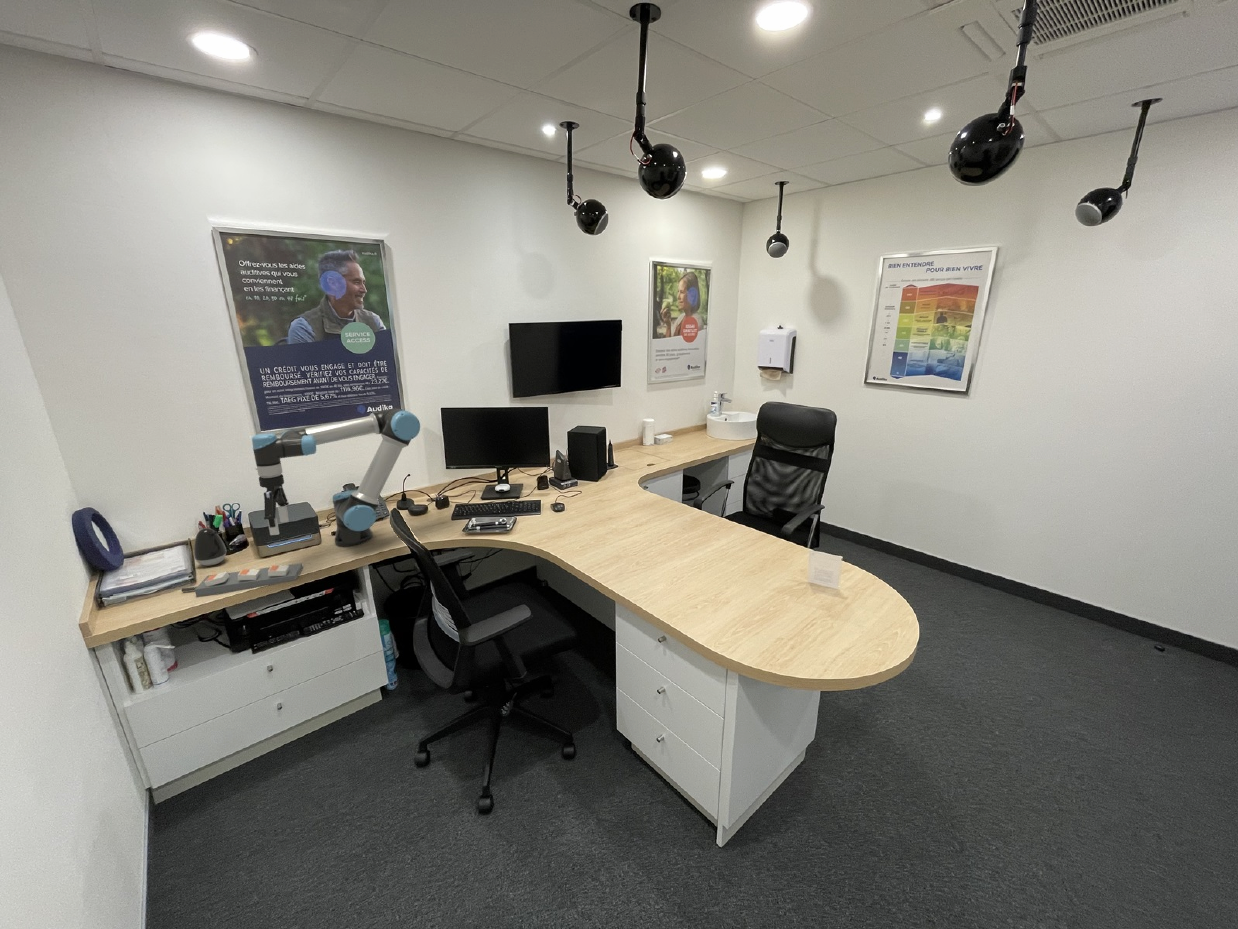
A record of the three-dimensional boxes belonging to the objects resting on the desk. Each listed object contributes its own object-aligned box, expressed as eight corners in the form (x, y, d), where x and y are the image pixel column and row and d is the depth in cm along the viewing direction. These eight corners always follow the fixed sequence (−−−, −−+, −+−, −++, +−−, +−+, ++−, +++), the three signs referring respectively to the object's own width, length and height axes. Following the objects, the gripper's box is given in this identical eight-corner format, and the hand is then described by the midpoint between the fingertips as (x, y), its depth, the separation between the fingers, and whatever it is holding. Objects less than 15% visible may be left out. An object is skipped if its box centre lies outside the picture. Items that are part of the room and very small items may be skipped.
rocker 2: (260, 574, 186) (260, 569, 185) (255, 580, 181) (255, 574, 181) (242, 574, 184) (242, 568, 183) (237, 580, 179) (237, 574, 179)
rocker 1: (229, 575, 182) (227, 570, 182) (224, 581, 178) (222, 576, 177) (212, 580, 181) (209, 575, 180) (206, 586, 177) (204, 581, 176)
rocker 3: (289, 570, 189) (289, 565, 188) (285, 575, 185) (285, 570, 184) (271, 570, 187) (271, 565, 186) (267, 576, 183) (267, 570, 182)
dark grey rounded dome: (211, 569, 196) (203, 534, 192) (190, 567, 197) (181, 532, 193) (235, 558, 205) (227, 524, 201) (214, 556, 207) (206, 523, 203)
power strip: (303, 570, 196) (302, 562, 195) (296, 582, 186) (294, 574, 185) (189, 585, 183) (187, 577, 183) (175, 600, 173) (173, 591, 173)
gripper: (268, 467, 193) (277, 518, 199) (247, 485, 171) (258, 541, 176) (290, 466, 196) (299, 515, 201) (272, 483, 173) (282, 539, 178)
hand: (280, 528), depth 189 cm, fingers open, 13 cm apart
